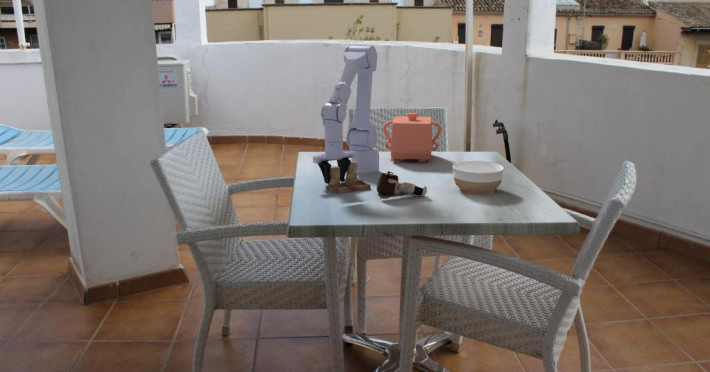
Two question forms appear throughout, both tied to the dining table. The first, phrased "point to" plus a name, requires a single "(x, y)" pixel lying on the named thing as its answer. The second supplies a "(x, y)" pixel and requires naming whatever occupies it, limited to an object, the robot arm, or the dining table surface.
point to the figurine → (397, 186)
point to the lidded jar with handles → (411, 137)
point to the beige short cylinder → (351, 172)
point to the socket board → (349, 187)
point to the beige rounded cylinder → (334, 175)
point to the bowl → (477, 177)
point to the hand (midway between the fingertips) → (334, 182)
